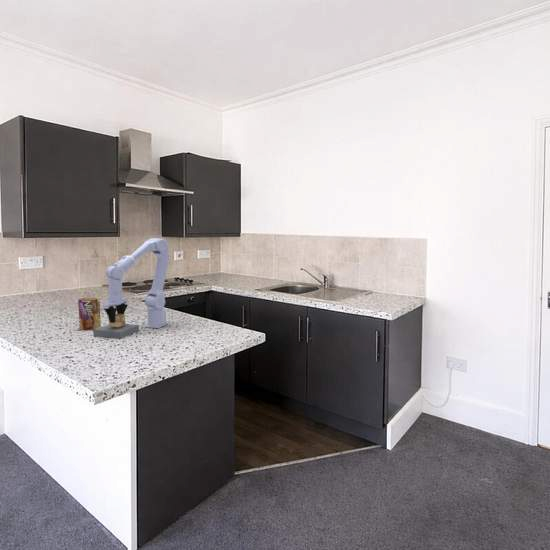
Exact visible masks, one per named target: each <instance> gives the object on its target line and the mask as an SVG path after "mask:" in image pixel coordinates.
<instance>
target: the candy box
mask: <svg viewBox="0 0 550 550" xmlns="http://www.w3.org/2000/svg"><path fill="white" fill-rule="evenodd" d="M100 298H101V297H100V296H98V297H97V296H95V297H94V296H93V297H91V296H90V297H88V296H87V297H84V296H83V297H79V298H77V302H78V304H77V305H78V306H77V307H78V321H79V323H78V324H79V330H80V331H82V330H83V331H84V330H85V331H88V330H94V329H97V328H100V327H102V325H101V324H102V323H101V299H100Z"/></svg>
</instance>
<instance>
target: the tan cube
mask: <svg viewBox="0 0 550 550" xmlns="http://www.w3.org/2000/svg"><path fill="white" fill-rule="evenodd" d="M125 324H126V315H125V313H124V314H117V313H116V315H115V323H110V321H109V320H108V325H109V327H121V326H123V325H125Z"/></svg>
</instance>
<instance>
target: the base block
mask: <svg viewBox="0 0 550 550" xmlns="http://www.w3.org/2000/svg"><path fill="white" fill-rule="evenodd" d="M92 330H93V334H92V335H93V337H99V338H107V339H108V338H109V339H120V340H121V339H123V338H126V337H128V336H130V335H134V334H135V332H136V333H138V332H140V325H139V324H133V323H132V324H130V323H125V325H123V326H121V327H109V324H106V325H103V326H101V327H100V328H97V329H92Z"/></svg>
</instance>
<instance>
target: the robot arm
mask: <svg viewBox="0 0 550 550" xmlns="http://www.w3.org/2000/svg"><path fill="white" fill-rule="evenodd" d="M169 245H170V244H169V243H168V241H167V240H166V239H165V238H156V237H155V238H153V237H151V238H149V239H147V240H146V241H144V242H143V244H141V245H140V246H139V247H138V248H137V249H136V250H135V251H134V252H132V254H130V255H129V254H128V255H123V256H122V257H121V259H120V260H118V261H117V262H114V263H113V265H110V266H109V267H107V269H106V272H105V273H104V274H105V276H106V277H107V278H108V301H107V302H105V303H103V307H102V308H103V310H104V312H105V313H106V314H107V318H108V322H109V321H110V323H115V315H116V314H125V312H126V310H127V307H128V299H127V298H123V278H124V276H125V273H126V272H127V271H129V270H130V269H131V268H133V267H134V266H135V264H136V261H138V260H139V259H140V258H141V257H143V256H144V255H146V254H147V253H148V252H149V253H151V252H152V253H153V254H154V256H156V258H157V259H156V265H155V270H154V276H153V280H152V285H151V288H150V290H149V291H148V292H147V295H146V296H145V298H144V304H145V306H146V309H147V324H145V325H144V328H149V329H150V328H151V329H160V328H162V327H164V326H167V325H168V324H169V323H167V311H166V308H164V307H165V304H166V293H165V292H164V285H165V281H166V275H167V272H168V266H169V262H170V251H169V247H170V246H169ZM166 324H167V325H166Z"/></svg>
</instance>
